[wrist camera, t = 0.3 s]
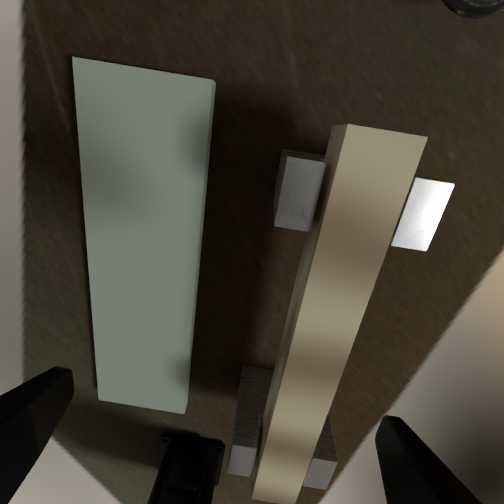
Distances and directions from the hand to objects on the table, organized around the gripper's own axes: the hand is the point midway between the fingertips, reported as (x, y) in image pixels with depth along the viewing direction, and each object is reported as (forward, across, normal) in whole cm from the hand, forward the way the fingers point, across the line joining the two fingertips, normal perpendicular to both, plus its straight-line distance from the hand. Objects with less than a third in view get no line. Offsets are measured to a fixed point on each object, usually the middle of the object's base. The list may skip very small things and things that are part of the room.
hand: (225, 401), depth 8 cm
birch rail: (+9, -4, +4) cm, 11 cm away
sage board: (+14, +8, +4) cm, 16 cm away
